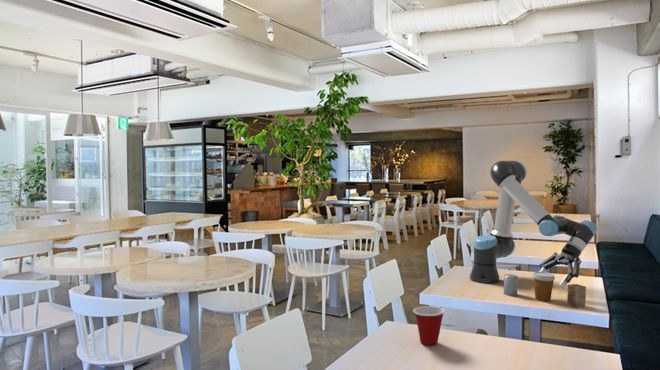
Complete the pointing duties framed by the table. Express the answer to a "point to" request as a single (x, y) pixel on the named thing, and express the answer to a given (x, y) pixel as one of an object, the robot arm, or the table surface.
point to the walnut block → (576, 295)
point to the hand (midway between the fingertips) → (548, 283)
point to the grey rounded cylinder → (510, 284)
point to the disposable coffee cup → (543, 285)
